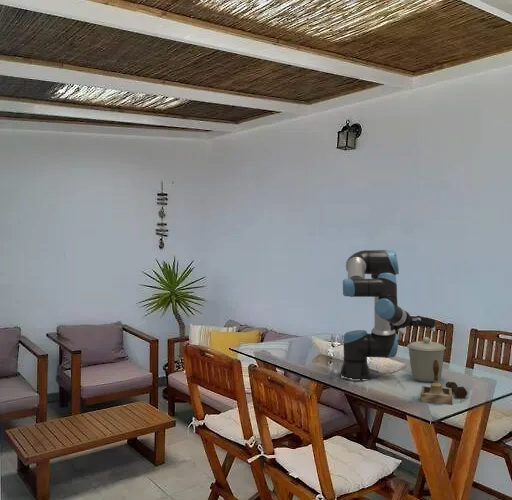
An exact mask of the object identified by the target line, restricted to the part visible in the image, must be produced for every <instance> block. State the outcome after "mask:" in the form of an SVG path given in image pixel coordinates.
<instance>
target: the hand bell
mask: <svg viewBox="0 0 512 500" xmlns="http://www.w3.org/2000/svg"><path fill="white" fill-rule="evenodd" d="M433 372H434V382H431V384H430V386H431V388H430V391H429V393H428V394H438V395H445V394H444V393H443V390H442V387H443V386H442V384H441V383H440V382H439V380H438V372H439V364H438V360H434V363H433Z"/></svg>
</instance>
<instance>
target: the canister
mask: <svg viewBox="0 0 512 500" xmlns="http://www.w3.org/2000/svg"><path fill="white" fill-rule="evenodd" d="M406 347H407V348H408V353H409V354H408V355H409V362H410V363H409V364H410V370H411V376H412V378H413V379H414V380H416V381H419V382H421V383H422V382H424V383H434V372H433V363H434V360H438V364H439V372H438V381H439V380H441V377H442V375H443V374H442V371H443V367H444V366H443V365H444V357H445V356H444V355H445V350H447V349H446V348H447V347H446V346H444V345H443V343H439V342H436V341H431V338H430V337H429V336H424V337H423V338H422V340H421V341H413V342H410V343H408V344H407V345H406Z"/></svg>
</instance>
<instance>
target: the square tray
mask: <svg viewBox="0 0 512 500" xmlns="http://www.w3.org/2000/svg"><path fill="white" fill-rule="evenodd" d="M430 388H431V385H430V386H429V385H421V392H420V403H429V404H431V403H432V404H441V405H442V404H443V405H453V392H452V388H447V387H443V386H442V390H443V393H444V394H445V395H438V394H428V393H429V391H430Z"/></svg>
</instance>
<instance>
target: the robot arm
mask: <svg viewBox="0 0 512 500" xmlns="http://www.w3.org/2000/svg"><path fill="white" fill-rule="evenodd" d="M345 270H346V272H347V278H343V280H342V295H343V296H344V297H349V298H353V297H354V298H357V297H358V298H366V297H367V298H369V297H370V298H374V307H373V308H374V309H373V310H374V313H373V314H374V317H373V318H374V325H373V326H374V327H373V328H372V329H371V333H368V331H367V330H365V329H358V330H351V331H347V332H345V333H344V335H343V342H342V344H343V363H342V365H341V369H340V371H339V375H340V374H341V375H342V376H344V377H347V378H352V379H360V380H362V379H369V378H370V379H371V377H372V376H371V374H372V373H371V371H370V367H369V365H368V358H383V359H389V358H395V357H396V356H397V354H398V347H399V334H397V333H396V332H399V333H401V334H403V335H406V334H407V327H411V326H412V327H416V326H418V327H419V326H420V327H425V328H427V329H429V330H431V331H432V332H436V320H435V319H432V318H426V317H422V316H420V315H417V316H416V317H412V316H411V314H410V313H409V312H408V311H406V310H405V309H404V308H402V307H400V306H399V303H398V285H397V275H399V274H400V271H399V270H400V269H399V262H398V257H397V252H396V251H394V250H391V249H376V250H375V249H373V250H367V249H363V250H359V251H358V252H355V253H353V254H352V255H350V256H349V257H348V259H347V260H346V262H345ZM366 275H370V277H371V278H365V277H366ZM370 379H369V380H370Z"/></svg>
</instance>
